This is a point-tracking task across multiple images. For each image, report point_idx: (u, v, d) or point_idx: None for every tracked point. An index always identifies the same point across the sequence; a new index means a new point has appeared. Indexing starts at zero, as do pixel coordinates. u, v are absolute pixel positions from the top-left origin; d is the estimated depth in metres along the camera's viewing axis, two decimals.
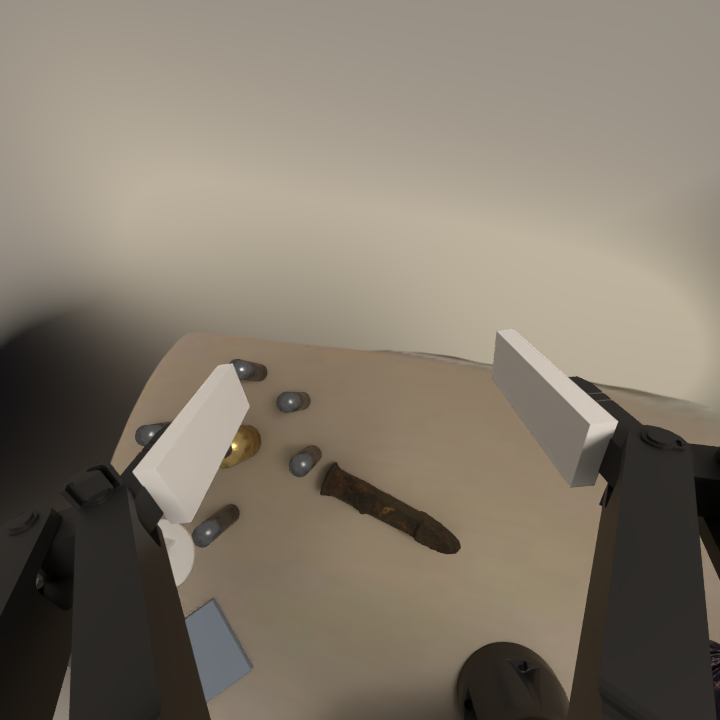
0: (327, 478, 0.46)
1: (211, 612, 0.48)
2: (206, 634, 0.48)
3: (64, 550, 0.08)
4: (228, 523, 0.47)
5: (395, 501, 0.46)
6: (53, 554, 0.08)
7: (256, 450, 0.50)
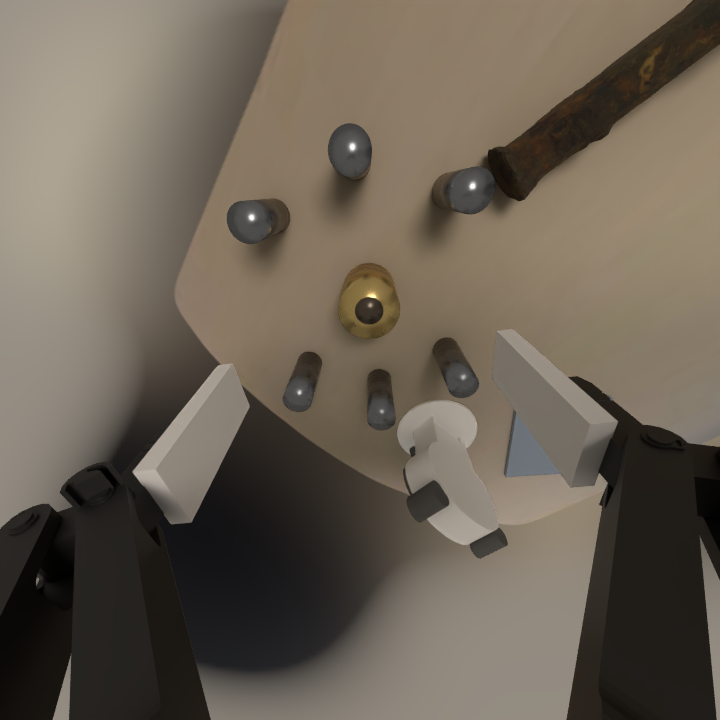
0: (512, 167, 0.24)
1: None
2: None
3: (65, 550, 0.08)
4: (460, 353, 0.33)
5: (641, 43, 0.21)
6: (53, 554, 0.08)
7: (390, 277, 0.32)
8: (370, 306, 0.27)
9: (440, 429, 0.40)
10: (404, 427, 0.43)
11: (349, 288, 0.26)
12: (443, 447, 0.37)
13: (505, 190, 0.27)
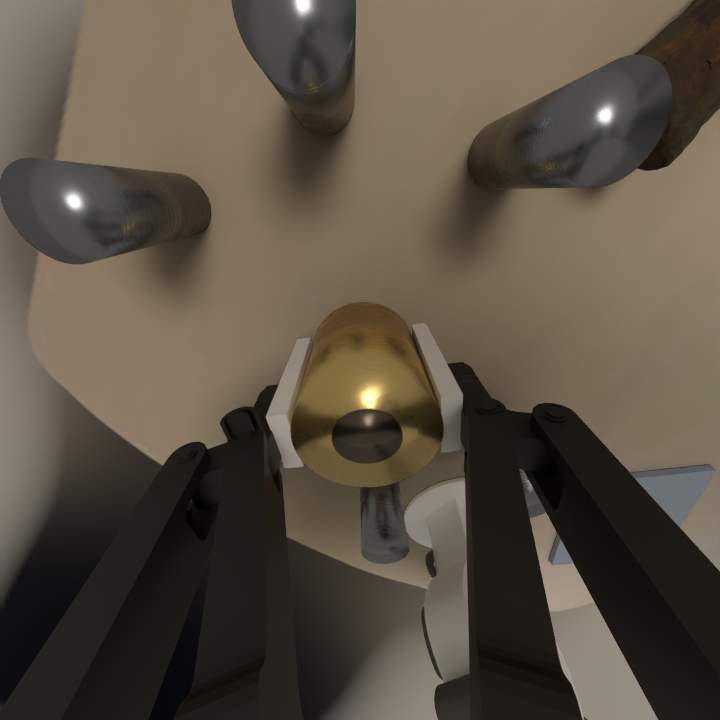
0: None
1: None
2: None
3: (219, 478, 0.10)
4: None
5: None
6: (210, 482, 0.10)
7: (408, 331, 0.15)
8: (370, 429, 0.11)
9: None
10: (414, 513, 0.30)
11: (314, 391, 0.10)
12: None
13: None
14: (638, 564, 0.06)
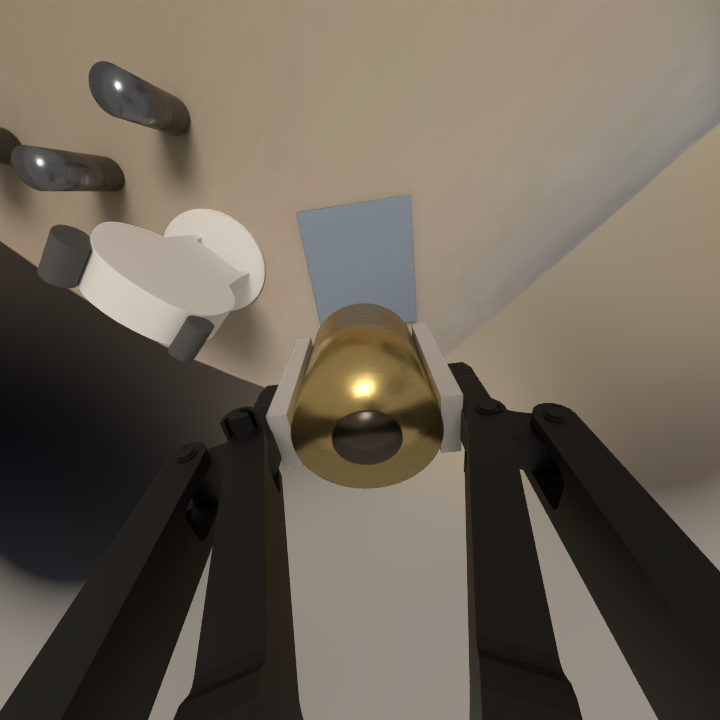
0: None
1: (312, 221, 0.32)
2: (337, 242, 0.33)
3: (219, 478, 0.10)
4: None
5: None
6: (210, 482, 0.10)
7: (408, 332, 0.15)
8: (370, 430, 0.11)
9: (196, 243, 0.31)
10: None
11: (314, 392, 0.10)
12: (172, 244, 0.28)
13: None
14: (638, 564, 0.06)
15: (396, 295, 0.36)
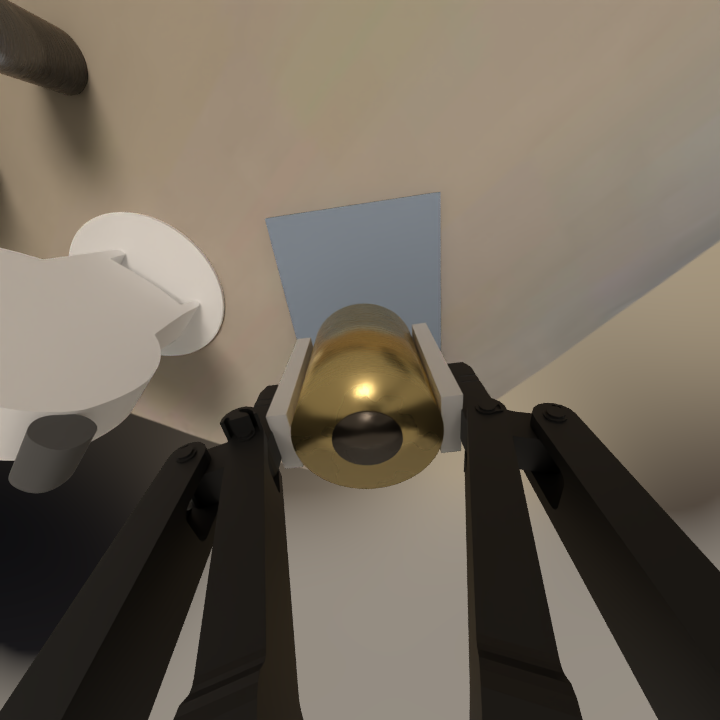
0: None
1: (290, 231, 0.21)
2: (327, 262, 0.22)
3: (219, 478, 0.10)
4: None
5: None
6: (210, 482, 0.10)
7: (408, 332, 0.15)
8: (370, 430, 0.11)
9: (112, 264, 0.20)
10: None
11: (314, 393, 0.10)
12: (56, 271, 0.17)
13: None
14: (638, 564, 0.06)
15: None
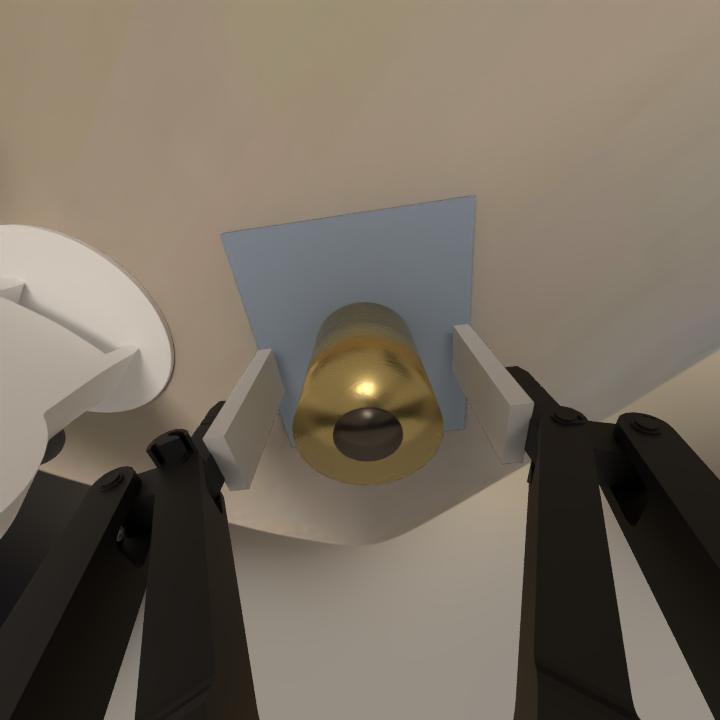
0: None
1: (257, 251, 0.15)
2: (312, 294, 0.16)
3: (147, 506, 0.09)
4: None
5: None
6: (137, 510, 0.09)
7: (408, 330, 0.16)
8: (371, 427, 0.11)
9: None
10: None
11: (316, 390, 0.10)
12: None
13: None
14: None
15: None
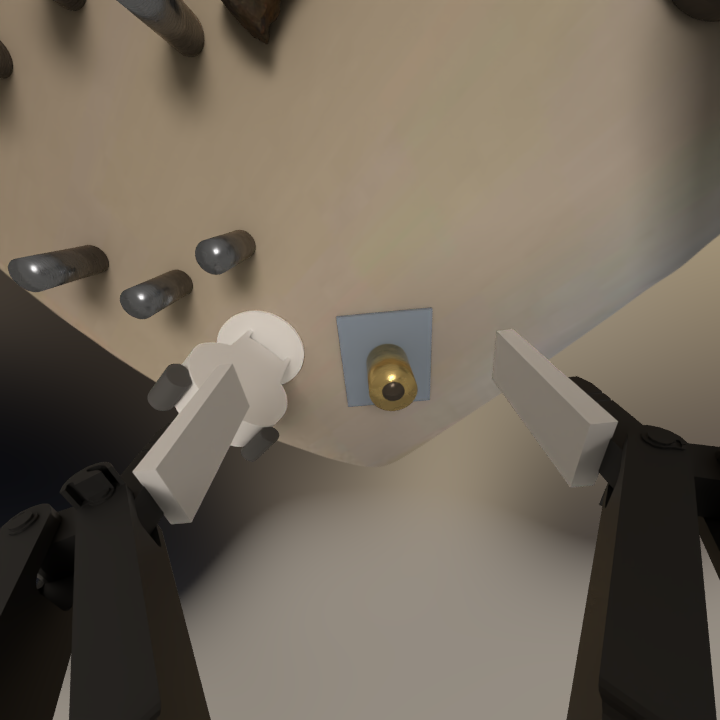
0: None
1: (349, 324, 0.38)
2: (368, 340, 0.39)
3: (64, 550, 0.08)
4: (234, 235, 0.30)
5: None
6: (53, 554, 0.08)
7: (406, 356, 0.39)
8: (394, 388, 0.34)
9: (251, 341, 0.37)
10: None
11: (379, 375, 0.33)
12: (237, 351, 0.33)
13: (250, 32, 0.24)
14: None
15: None
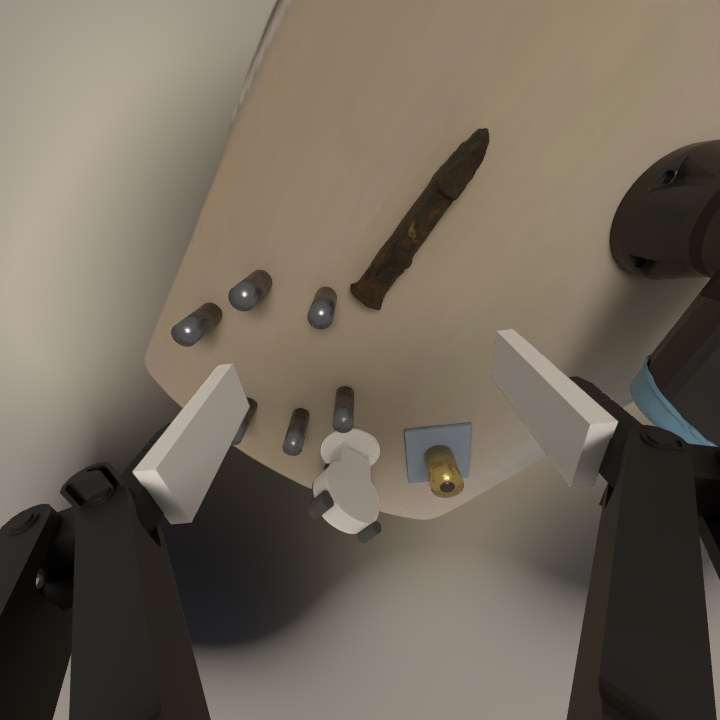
0: (361, 300, 0.39)
1: (413, 435, 0.55)
2: (425, 443, 0.56)
3: (65, 550, 0.08)
4: (348, 400, 0.47)
5: (406, 217, 0.35)
6: (53, 554, 0.08)
7: (453, 454, 0.56)
8: (448, 485, 0.51)
9: (348, 450, 0.54)
10: (325, 448, 0.57)
11: (439, 478, 0.50)
12: (344, 464, 0.51)
13: None
14: None
15: (457, 465, 0.59)
